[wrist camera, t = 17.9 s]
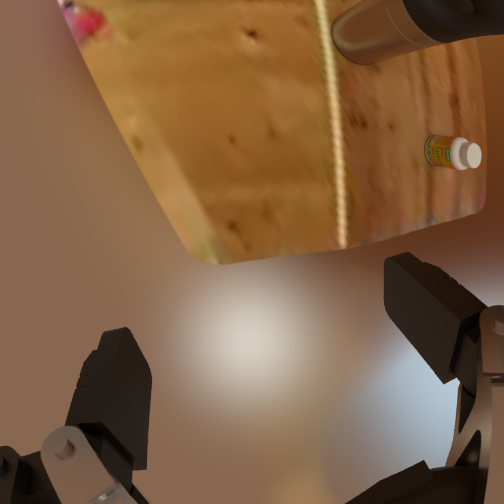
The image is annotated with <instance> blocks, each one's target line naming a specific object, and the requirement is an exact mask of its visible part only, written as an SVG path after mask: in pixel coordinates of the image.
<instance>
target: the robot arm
mask: <svg viewBox="0 0 504 504" xmlns="http://www.w3.org/2000/svg"><path fill="white" fill-rule="evenodd" d="M498 34H499V35H500V34H504V0H363V1H361V2H360V3H358V4H356V5H355V6H353V7H352V8H350V9H348V10H347V11H345V12H344V13H342V14H341V15H339V16H338V17H337V18H336V19H335V21H334V22H333V25H332V37H333V40H334V43H335V45H336V47H337V48H338V50H339V51H340V52H341V53H342V54H343V55H344V56H345V57H346V58H347V59H349V60H350V61H352V62H355V63H357V64H362V65H368V64H372V63H375V62H378V61H381V60H385V59H389V58H392V57H395V56H399V55H402V54H406V53H410V52H413V51H417V50H421V49H425V48H429V47H432V46H436V45H441V44H445V43H450V42H454V41H458V40H463V39H468V38H473V37H479V36H487V35H498ZM384 305H385V309H386V311H387V314H388V316H389V317H390V319H392V321H393V322H394V323H395V325H396V326H397V327H398V328H399V329H400V331H401V332H402V333H403V334H404V335H405V337H406V338H407V339H408V340H409V341H410V343H411V344H412V345H413V346H414V348H415V349H416V350H417V351H418V353H419V354H420V355H421V356H422V357H423V359H424V360H425V361H426V362H427V364H428V365H429V366H430V367H431V369H432V370H433V371H434V373H435V374H436V375H437V376H438V378H439V379H440V380H441V382H442V383H443V384H445V383H447V382H449V381H451V380H453V379H455V378H458V380H459V381H460V384H459V387H458V398H457V410H456V420H455V429H454V437H453V442H452V446H451V449H450V452H449V455H448V458H447V461H446V465H445V467H438V468H432V469H429V468H428V466H427V464H426V463H425V461H424V460H423V461H421V462H419V463H417V464H415V465H413V466H411V467H409V468H407V469H405V470H403V471H401V472H399V473H396V474H394V475H392V476H389V477H387V478H385V479H383V480H380V481H379V482H377V483H376V484H374V485H373V486H372V487H370V488H369V489H367V490H366V491H364V492H363V493H361V494H360V495H358V496H357V497H355V498H353V499H352V500H350V501H349V502H347V503H345V504H504V306H502V305H495V306H491V307H487V306H486V305H485V304H484V303H482V302H481V301H480V300H479V299H478V298H477V297H475V296H474V295H473V294H472V293H471V292H469V291H468V290H467V289H466V288H464V287H463V286H462V285H461V284H458V282H457V281H456V280H455V279H453V278H452V277H451V278H450V276H449V275H448V274H447V273H446V272H444V271H443V270H442V269H441V268H439V267H437V266H434V265H432V264H429V263H426V262H423V263H422V262H421V261H420V260H419V259H417V258H416V257H415V256H414V255H412V254H411V253H409V252H404V253H401V254H398V255H395V256H392V257H389V258H386V259H385V262H384ZM76 386H77V389H75V392H74V395H73V398H72V402H71V405H70V409H69V412H68V416H67V419H66V423H65V426H64V427H60V428H58V429H56V430H54V431H53V432H51V433H50V434H49V435H48V436H47V438H46V439H45V440H44V442H43V445H42V447H41V451H38V452H35V453H32V454H29V455H26V456H20V455H19V454H18V453H17V452H16V451H15V450H14V449H13V448H11V447H9V446H1V447H0V504H152V503H151V501H150V500H149V499H148V498H147V497H146V496H145V494H144V493H143V492H142V491H141V490H140V489H139V487H138V486H137V485H136V484H135V483H134V482H133V481H132V471H133V470H146V468H147V445H148V429H149V413H150V400H151V389H152V376H151V371H150V368H149V365H148V363H147V361H146V359H145V357H144V355H143V354H142V352H141V350H140V348H139V346H138V344H137V342H136V340H135V339H134V337H133V335H132V333H131V331H130V330H129V329H128V328H127V327H124V328H119V329H114V330H110V331H105V332H103V334H102V336H101V339H100V343H99V346H98V349H97V350H93V351H92V352H91V354H90V355H89V356H88V358H87V359H86V360H85V362H84V363H83V366H82V370H81V373H80V378H79V379H78V382H77V385H76Z"/></svg>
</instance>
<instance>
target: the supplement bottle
mask: <svg viewBox="0 0 504 504" xmlns="http://www.w3.org/2000/svg"><path fill="white" fill-rule="evenodd" d="M425 154H426V157H427V159H428V161H429V162H430V163H431V164H433V165H436V166H441V167H447V168H452V169H457V170H465V169H467V168H468V167H469V168H476V167H478V166H479V164H480V161H481V150H480V148H479V146H478V145H477V144H476V143H471V142H468V141H467V140H466V139H465V138H461V137H451V136H437V135H434V136H431V137H430V138H429V139H428V140H427V142H426V145H425Z"/></svg>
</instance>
